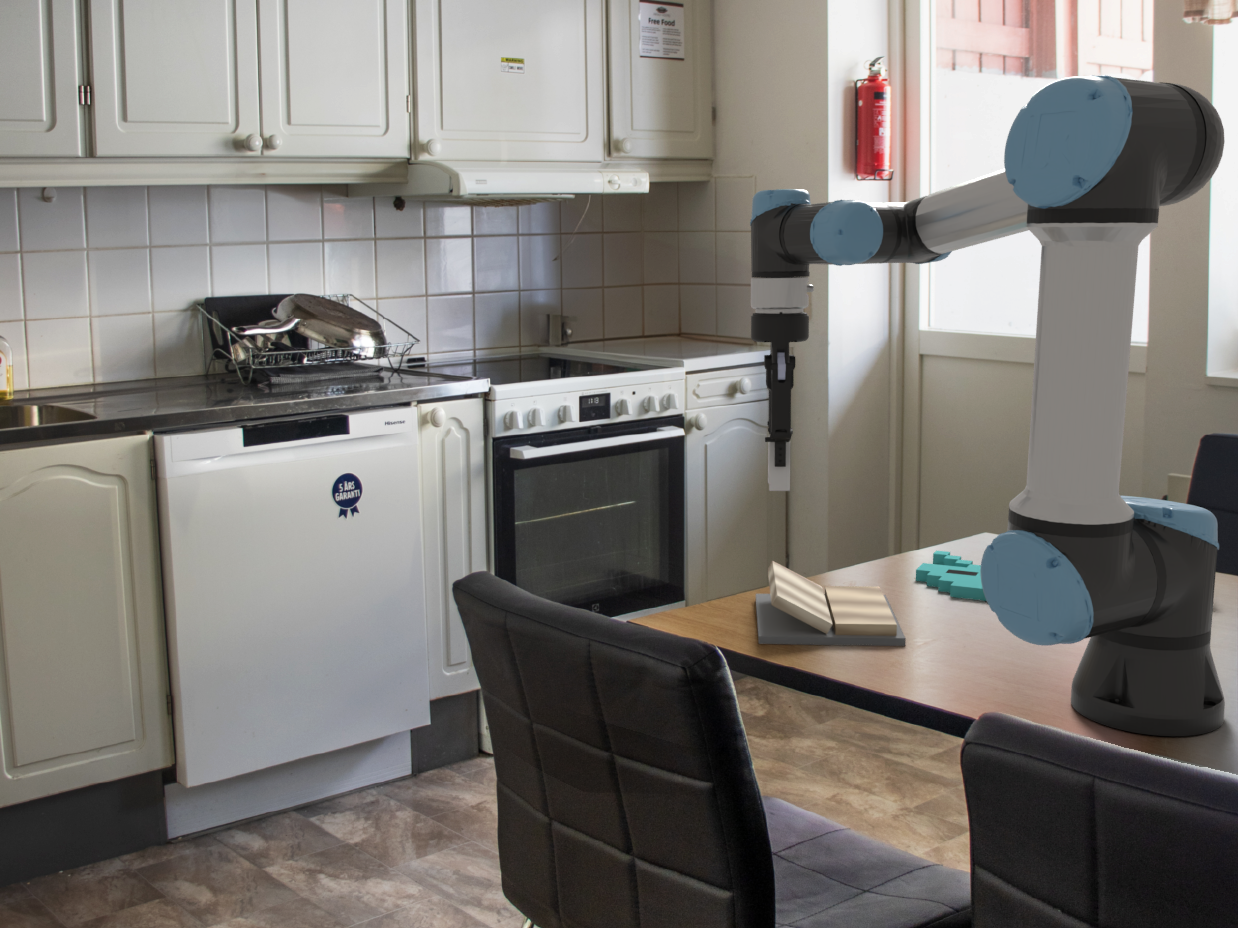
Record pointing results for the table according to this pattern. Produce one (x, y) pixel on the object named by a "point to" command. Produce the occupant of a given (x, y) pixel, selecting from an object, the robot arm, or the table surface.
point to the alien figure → (952, 576)
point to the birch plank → (798, 597)
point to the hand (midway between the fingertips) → (778, 486)
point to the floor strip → (859, 611)
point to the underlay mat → (810, 629)
